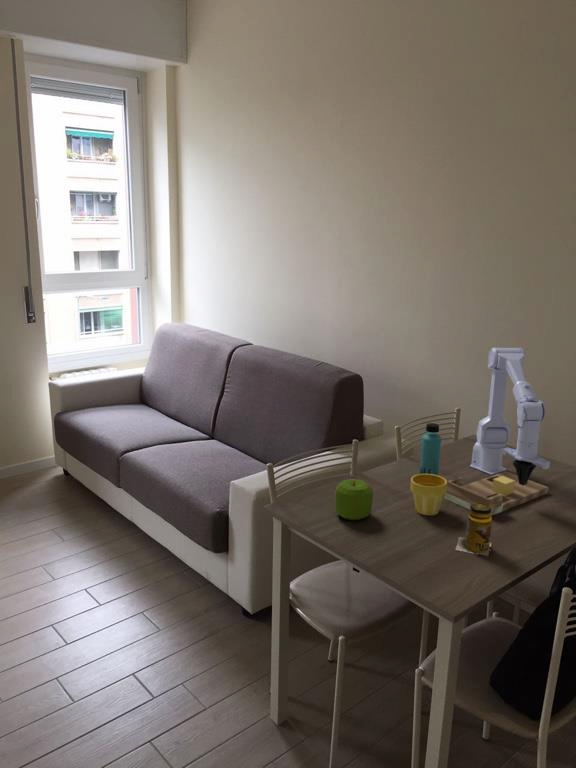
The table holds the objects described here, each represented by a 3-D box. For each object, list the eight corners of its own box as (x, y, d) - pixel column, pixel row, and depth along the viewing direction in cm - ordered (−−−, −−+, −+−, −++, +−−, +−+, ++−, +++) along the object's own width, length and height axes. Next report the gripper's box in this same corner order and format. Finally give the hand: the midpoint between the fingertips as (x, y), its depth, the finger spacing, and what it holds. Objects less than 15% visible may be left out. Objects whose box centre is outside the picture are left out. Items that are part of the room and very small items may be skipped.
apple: (375, 523, 183) (377, 488, 180) (337, 524, 182) (338, 488, 180) (368, 506, 194) (369, 472, 191) (332, 507, 193) (333, 473, 190)
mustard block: (501, 487, 203) (502, 475, 202) (513, 492, 200) (515, 480, 199) (492, 491, 201) (493, 479, 200) (504, 496, 197) (505, 484, 196)
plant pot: (412, 500, 198) (414, 470, 196) (447, 506, 195) (449, 476, 192) (405, 515, 189) (407, 483, 186) (442, 521, 185) (444, 489, 183)
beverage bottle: (438, 479, 214) (442, 421, 209) (439, 487, 208) (443, 428, 203) (418, 477, 215) (422, 420, 210) (418, 485, 209) (422, 426, 204)
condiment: (489, 557, 166) (493, 514, 163) (455, 550, 169) (458, 508, 166) (491, 544, 173) (495, 502, 170) (458, 538, 176) (462, 497, 173)
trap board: (505, 476, 217) (506, 461, 216) (547, 493, 205) (549, 476, 203) (444, 498, 200) (445, 481, 199) (486, 517, 188) (488, 500, 186)
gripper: (498, 436, 194) (494, 479, 198) (541, 450, 183) (536, 495, 186) (512, 432, 198) (508, 474, 202) (555, 446, 187) (550, 489, 190)
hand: (522, 484), depth 194 cm, fingers closed
